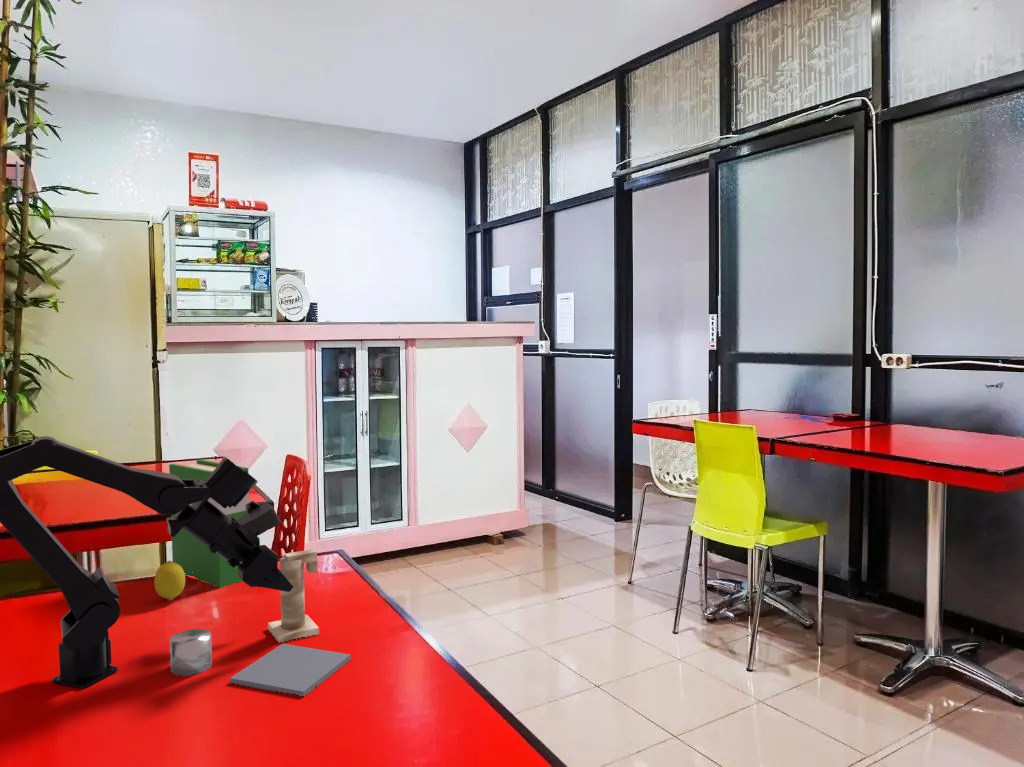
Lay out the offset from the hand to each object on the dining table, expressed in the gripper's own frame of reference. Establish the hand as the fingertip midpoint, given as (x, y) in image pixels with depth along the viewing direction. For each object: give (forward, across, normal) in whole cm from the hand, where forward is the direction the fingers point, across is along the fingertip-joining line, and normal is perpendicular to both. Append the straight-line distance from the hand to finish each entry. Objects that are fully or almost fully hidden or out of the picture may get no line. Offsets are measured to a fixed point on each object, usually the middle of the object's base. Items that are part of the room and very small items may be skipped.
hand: (283, 581), depth 131 cm
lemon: (-4, +28, +17) cm, 33 cm away
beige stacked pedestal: (+8, 0, +6) cm, 10 cm away
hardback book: (+3, +40, +10) cm, 41 cm away
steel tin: (-5, -5, +18) cm, 19 cm away
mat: (+4, -15, +9) cm, 18 cm away
